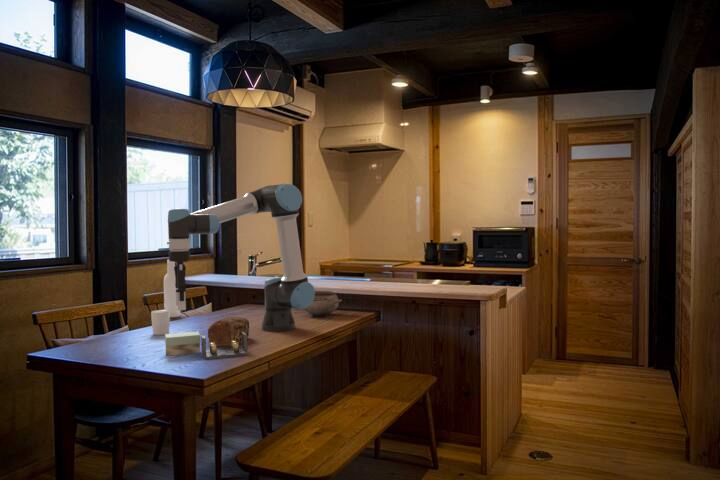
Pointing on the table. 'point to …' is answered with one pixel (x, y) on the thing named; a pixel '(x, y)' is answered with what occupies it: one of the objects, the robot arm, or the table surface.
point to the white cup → (160, 321)
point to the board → (182, 338)
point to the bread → (228, 331)
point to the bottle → (170, 291)
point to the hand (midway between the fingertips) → (180, 307)
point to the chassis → (225, 349)
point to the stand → (183, 349)
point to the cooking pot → (323, 303)
